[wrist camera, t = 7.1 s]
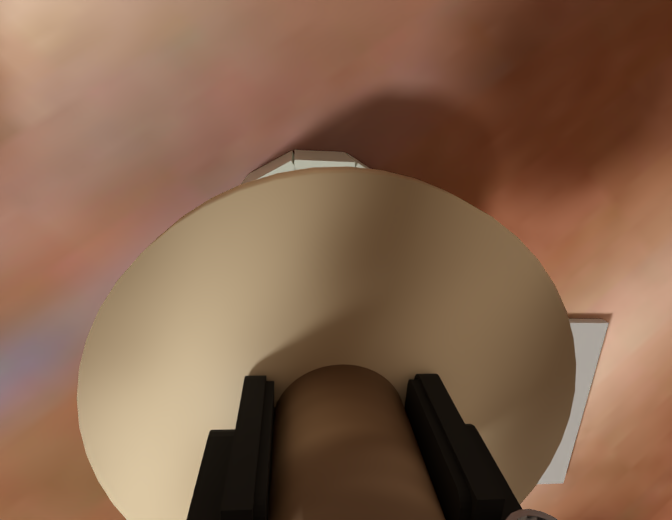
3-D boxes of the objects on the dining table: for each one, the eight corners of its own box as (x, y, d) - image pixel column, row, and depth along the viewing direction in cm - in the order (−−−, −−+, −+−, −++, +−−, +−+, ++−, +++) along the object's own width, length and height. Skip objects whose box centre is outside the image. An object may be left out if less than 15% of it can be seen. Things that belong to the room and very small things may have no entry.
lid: (598, 175, 11) (909, 246, 6) (508, 545, 15) (632, 797, 10) (62, 155, 10) (-248, 220, 4) (125, 566, 14) (13, 871, 8)
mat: (602, 319, 30) (608, 323, 30) (558, 477, 35) (563, 483, 34) (404, 317, 29) (406, 322, 28) (385, 482, 33) (387, 489, 33)
